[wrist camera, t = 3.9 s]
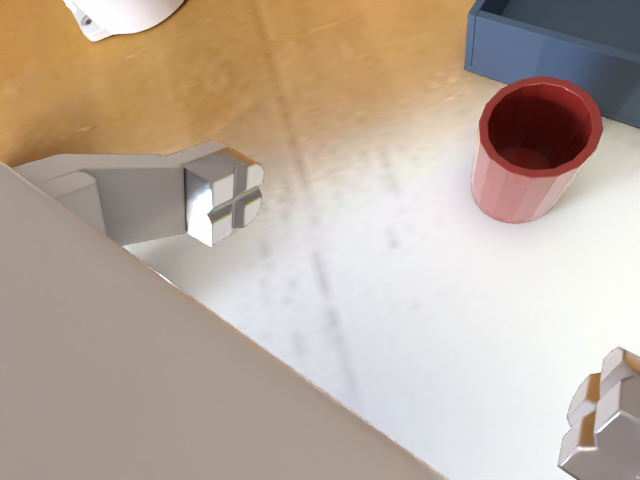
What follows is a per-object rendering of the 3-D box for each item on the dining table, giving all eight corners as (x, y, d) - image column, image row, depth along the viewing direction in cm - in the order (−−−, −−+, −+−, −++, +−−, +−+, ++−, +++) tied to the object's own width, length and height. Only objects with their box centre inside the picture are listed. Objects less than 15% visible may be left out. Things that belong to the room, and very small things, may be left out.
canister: (453, 188, 33) (456, 134, 25) (509, 131, 33) (530, 58, 25) (519, 240, 31) (547, 199, 23) (579, 179, 31) (629, 115, 23)
